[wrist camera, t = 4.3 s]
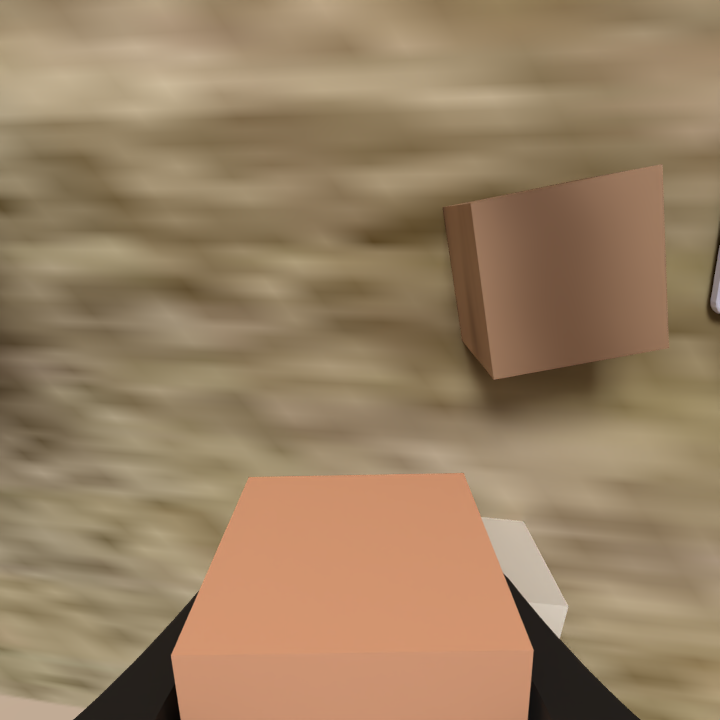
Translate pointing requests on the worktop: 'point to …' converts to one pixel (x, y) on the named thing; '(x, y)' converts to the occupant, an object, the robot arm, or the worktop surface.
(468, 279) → the walnut cube
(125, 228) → the worktop surface
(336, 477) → the terracotta cube
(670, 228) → the worktop surface
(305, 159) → the worktop surface
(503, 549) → the beige cube
